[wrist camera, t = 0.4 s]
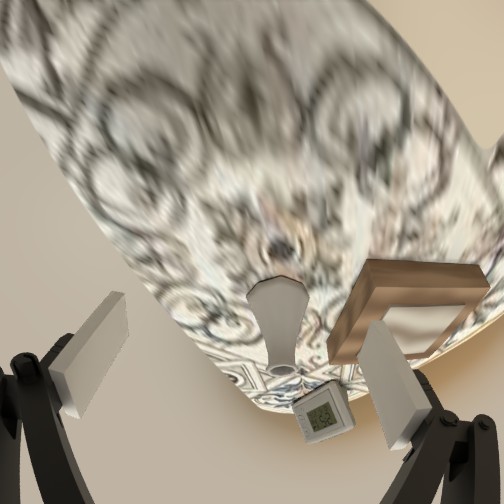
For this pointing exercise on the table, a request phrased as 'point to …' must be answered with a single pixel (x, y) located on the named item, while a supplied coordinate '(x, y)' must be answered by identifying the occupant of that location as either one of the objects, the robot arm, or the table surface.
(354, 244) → the table surface
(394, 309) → the walnut plinth
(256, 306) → the flask
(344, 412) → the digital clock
